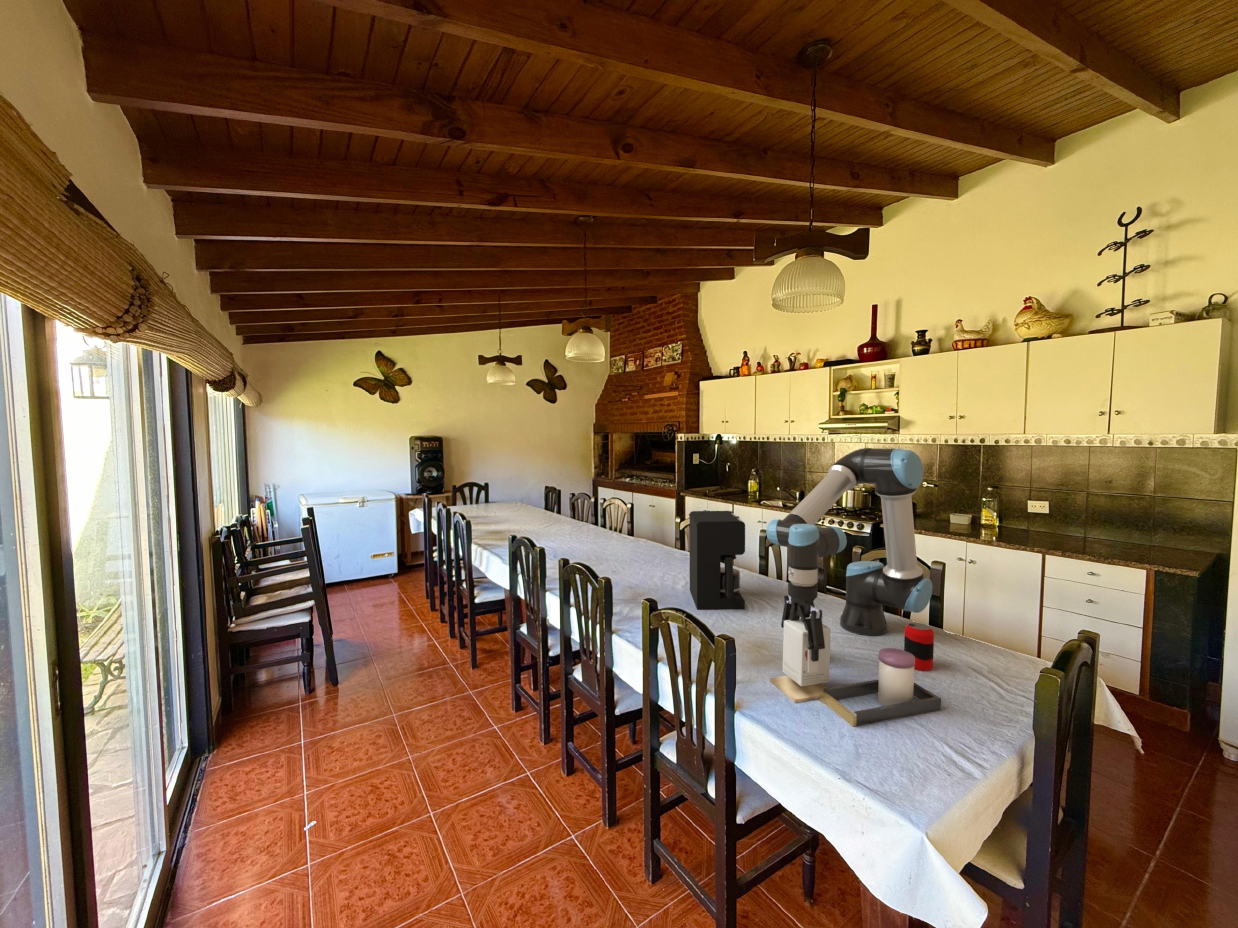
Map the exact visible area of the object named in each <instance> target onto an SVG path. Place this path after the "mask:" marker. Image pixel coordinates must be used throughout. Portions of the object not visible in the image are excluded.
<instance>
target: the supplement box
mask: <svg viewBox="0 0 1238 928" xmlns="http://www.w3.org/2000/svg"><path fill="white" fill-rule="evenodd" d="M809 618H811V617H809ZM809 618H806V619H809ZM822 626H823V634H824V643H825V648H824V649H819V660H818V671H817V672H811V673H808V672H807V647H810V646H809V642H808V631H807V630H805V626H804V623H803V622H802V620H801V618H799V620H794V621H791V620H785V621H784V628H783V643H782V672H783V673H784V674H785V676H789V677H790V678H791V679H793V680H794V681H795V682H796V683H798V684H799V685H800V686H807V685H813V684H819V683H822V684H824V683H829V682H830V665H831V663H830V661H831V627H829V626H827V625H825V624H823V623H822ZM813 644H814V643H813Z"/></svg>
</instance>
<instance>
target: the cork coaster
mask: <svg viewBox="0 0 1238 928" xmlns="http://www.w3.org/2000/svg"><path fill="white" fill-rule="evenodd" d="M769 682H770V683H771V684H772V685H774V686H775V688H777V689H778V690H779V691H781V692H782V693H783V694H784V695H785V696H786V697H787V698H789V699H790V700H791V701H792V702H793V703H794V704H795V703H801V702H806V701H811V700H812V701H814V700H818V699H819V700H820V691H823V689H824V688H828V687H827V686H826V685H824V683H819V684H813V685H807V686H800V685H799V684H798V683H796V682H795V681H794V680H793V679H791V678H790V677H789V676H788V675H782V676H781V675H780V676H775V677H770V678H769Z"/></svg>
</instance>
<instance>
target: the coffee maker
mask: <svg viewBox="0 0 1238 928" xmlns="http://www.w3.org/2000/svg"><path fill="white" fill-rule="evenodd" d="M688 517H689V592H690V595H691V597H692V600H693V602H694V607H695V608H696V610H697V611H706V610H707V611H712V610H714V611H715V610H716V611H718V610H720V611H721V610H724V611H725V610H726V611H728V610H737V611H738V610H739V611H740V610H742V611H743V610H745V607H746V601H745V598H744V597H743V596H742V593H741V592H740V589H741V571H740V569H737V568H734V564H733V563H734V562H733V560H736V559H737V556H742V555H744V554H745V553H746V523H745V522H744V521H743V520H742V519H741V518H740V516H737V515H736V514H735V513H734V511H732V510H692V511H690V512H689V514H688ZM721 561H724V566H722V567H721ZM737 563H738V564H739V562H737Z"/></svg>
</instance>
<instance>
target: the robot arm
mask: <svg viewBox="0 0 1238 928" xmlns="http://www.w3.org/2000/svg"><path fill="white" fill-rule="evenodd" d="M924 471H925V470H924V465H923V462H922V459H921V458H920V456H919V455H918V454H917V453H916V452H915V451H914V450H911V449H904V448H903V449H902V448H877V447H874V448H872V447H864V448H863V447H862V448H859V449H856V450H854V451H851V452H849V453H847V454H846V455H844V456H842V457H841V458H840V459H838V460H837V461H836V462H834V463H833V464H832V465H831V466H830V467H829V468H828V470H827V475H826V476H825V477H824V478H823V479H821V481H819V483H817V485H816V486H815V487H814V488H813V489H812V490H811V491H810V492H809V493H807V495H806V496H805V497H804V498H803V499H802V500H801V501H800V502H799V503H798V504H797V505H796V506H795V507H794V508H793V509H792V510H791V511H790V512H789V513H788V514H787V515H786V516H785V517H784V518H783V519H779V518H778V519H772V520H771V521H769V523H768V524H767V526H766V531H765V532H766V534H765V535H766V537H767V539H768V541H769V543H771V544H774V545H777V546H780V547H786V548H788V575H787V576H788V578H787V579H788V580H789V581H788V583H787V595H784V597H783V599H784V601H783V602H784V605H783V611H782V616H781V622H780V623H781V624H780V626H781V628H782V629H784V621H785V620H791V621H794V620H799V619H801V620H802V622H803V623H804V626H805V630H807V631H808V642H809V646H810V647H807V672H808V673H811V672H817V671H818V660H819V649H824V648H825V643H824V634H823V626H822V624H823V620H822V618H823V610H822V609H817V608H816V607H815V600H816V599H817V598H818V591H819V589H818V586H819V585H818V584H817V583H819V559H820V558H823V557H826V556H831V555H832V556H834V555H836V554H838V553H841V552H842V551H844V550H845V549H846V546H847V542H848V540H847V536H846V533H845V532H844V531H843V529H841V528H840V527H838V526H829V525H828V526H826V527H821V526H817V525H816V524H817V523H818V521H819V520H820V519H821V518H822V517H823V516H824V515H825V514H826V513H827V512H828V511H829V510H830V509H831V508H832V506H834V504H836V502H837V501H838V500H839V499H840V498H841V497H842V496H843V495H844V494H845V493H846V492H847V491H850V490H851V491H852V489H854V488H855V487H856V486H857V485H861V484H868V485H872V486H873V485H874V493H875V495H877V496H878V497H880V501H881V502H880V503H881V511H882V512H881V513H882V521H883V522H882V523H883V533H884V535H883V536H884V542H885V555H886V565H884V563H882V562H880V561H876V560H875V561H873V560H863V561H862V560H861V561H854V562H851V563H849V564H847V567H846V574H845V578H846V579H845V605H844V607H843V610H842V613H841V615H840V617H839V625H840V627H842V629H843V630H846V631H848V632H851V633H853V634H859V635H864V636H880V635H885V634H886V633H887V632H888V622H887V620H886V616H885V613H884V609H883V605H885V606H888V607H892V608H896V609H899V610H903V611H905V612H911V613H914V614H916V613H917V614H919V613H921V612H923V611H924V610H925V609H926V608H927V606H928V604H929V603H930V601H931V598H932V594H933V588H934V587H933V582H932V580H931V579H930V578H928V577H924V569H923V567H921V566H920V565H919V564H918V559H917V558H918V557H917V545H916V536H915V526H914V525H915V522H914V513H913V512H914V511H913V500H912V496H913V495H914V494H915V493H916V492H917V488H919V487H920V486H921V484H922V483H923V481H924V480H923V477H924V474H925V473H924ZM810 617H811V618H810ZM806 618H809V619H806ZM813 643H814V644H813Z"/></svg>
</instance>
